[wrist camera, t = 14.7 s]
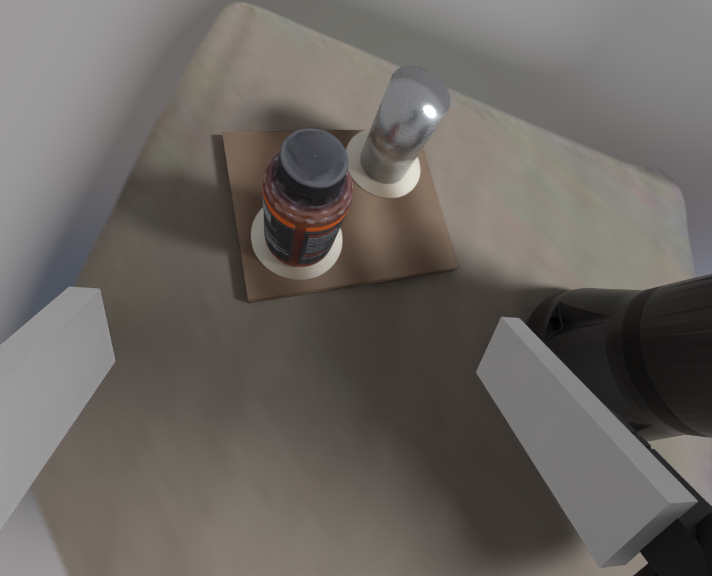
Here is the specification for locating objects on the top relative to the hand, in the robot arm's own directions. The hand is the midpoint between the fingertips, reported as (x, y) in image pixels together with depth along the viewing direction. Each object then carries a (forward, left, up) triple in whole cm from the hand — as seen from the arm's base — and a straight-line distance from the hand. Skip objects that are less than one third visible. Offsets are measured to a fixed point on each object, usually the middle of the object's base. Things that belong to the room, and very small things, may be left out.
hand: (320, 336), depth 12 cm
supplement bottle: (-3, -11, -16) cm, 20 cm away
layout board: (-8, -14, -17) cm, 23 cm away
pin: (-13, -18, -17) cm, 28 cm away
